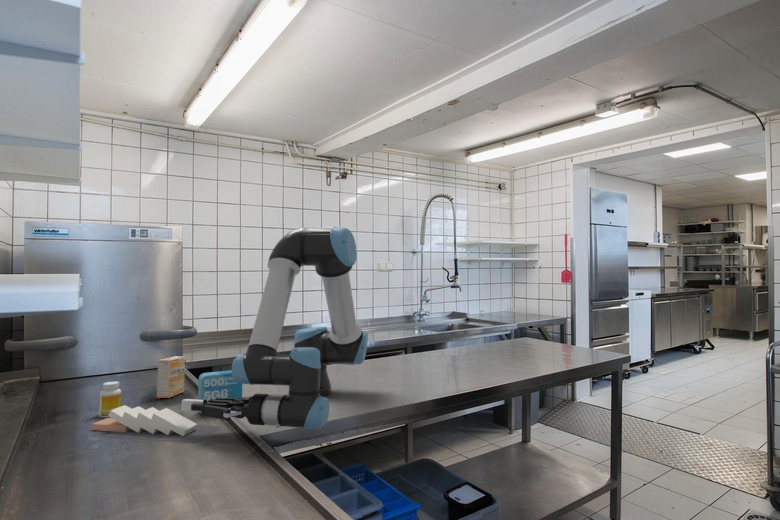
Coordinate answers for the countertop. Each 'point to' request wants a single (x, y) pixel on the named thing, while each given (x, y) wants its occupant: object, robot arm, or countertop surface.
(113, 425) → the domino
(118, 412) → the domino
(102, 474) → the countertop surface
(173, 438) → the mat
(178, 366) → the supplement box
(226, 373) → the data package
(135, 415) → the domino
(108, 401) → the supplement bottle
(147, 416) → the domino
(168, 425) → the domino
